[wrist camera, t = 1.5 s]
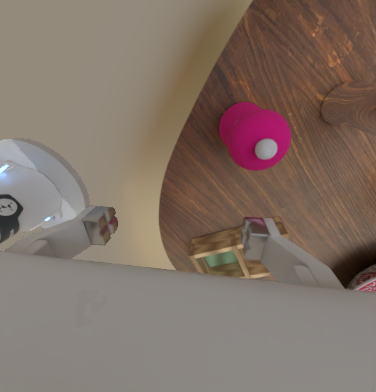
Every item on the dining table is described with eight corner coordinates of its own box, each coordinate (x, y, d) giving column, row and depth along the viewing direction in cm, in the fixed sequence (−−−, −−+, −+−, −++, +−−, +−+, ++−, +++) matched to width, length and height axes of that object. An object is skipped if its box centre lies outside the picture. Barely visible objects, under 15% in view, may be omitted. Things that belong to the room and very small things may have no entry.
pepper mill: (233, 151, 34) (253, 204, 16) (210, 122, 32) (206, 146, 14) (266, 126, 31) (334, 157, 13) (244, 91, 29) (290, 76, 11)
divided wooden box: (208, 267, 51) (207, 285, 46) (191, 239, 47) (188, 256, 41) (288, 251, 44) (298, 271, 39) (278, 216, 40) (288, 233, 34)
